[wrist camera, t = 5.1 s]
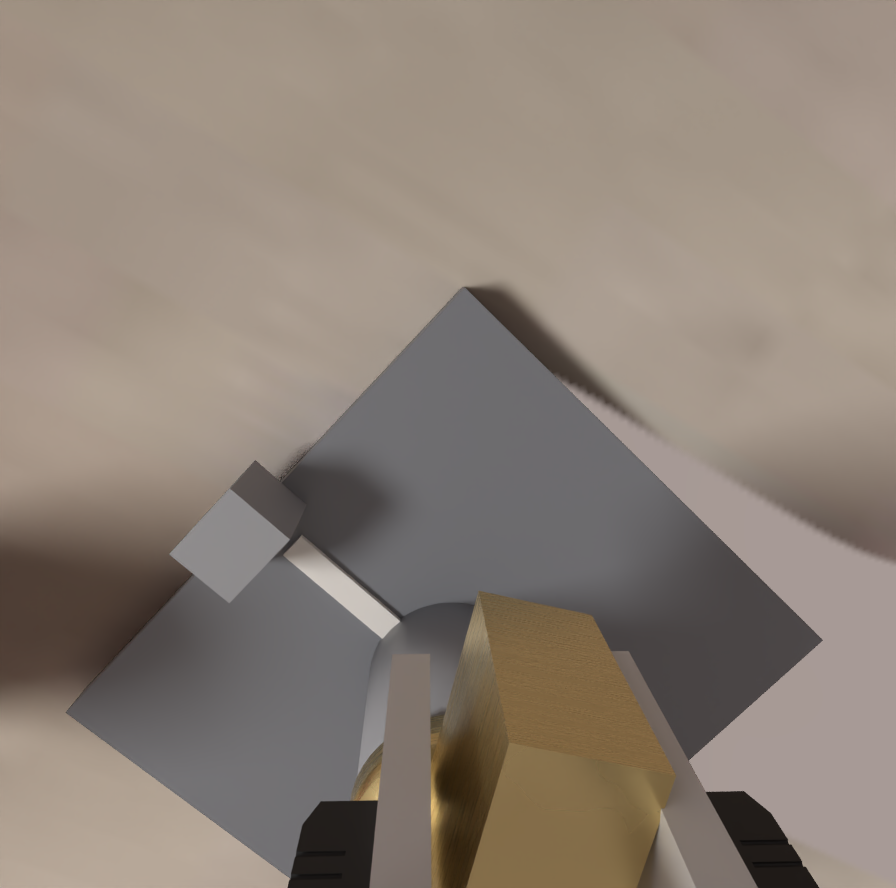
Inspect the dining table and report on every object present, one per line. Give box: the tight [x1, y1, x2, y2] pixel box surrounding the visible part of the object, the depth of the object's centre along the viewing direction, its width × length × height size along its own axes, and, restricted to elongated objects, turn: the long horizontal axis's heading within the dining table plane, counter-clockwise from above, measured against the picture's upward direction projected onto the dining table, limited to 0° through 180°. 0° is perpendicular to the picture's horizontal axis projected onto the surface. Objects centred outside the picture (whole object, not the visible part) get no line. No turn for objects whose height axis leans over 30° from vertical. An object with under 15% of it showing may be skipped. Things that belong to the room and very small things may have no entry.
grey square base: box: [66, 287, 822, 879], centre depth 21 cm, size 18×18×7 cm
